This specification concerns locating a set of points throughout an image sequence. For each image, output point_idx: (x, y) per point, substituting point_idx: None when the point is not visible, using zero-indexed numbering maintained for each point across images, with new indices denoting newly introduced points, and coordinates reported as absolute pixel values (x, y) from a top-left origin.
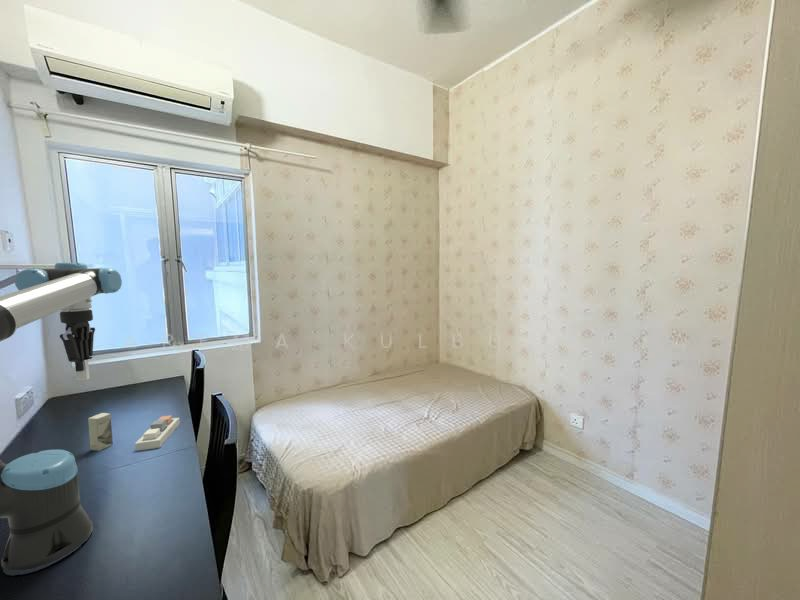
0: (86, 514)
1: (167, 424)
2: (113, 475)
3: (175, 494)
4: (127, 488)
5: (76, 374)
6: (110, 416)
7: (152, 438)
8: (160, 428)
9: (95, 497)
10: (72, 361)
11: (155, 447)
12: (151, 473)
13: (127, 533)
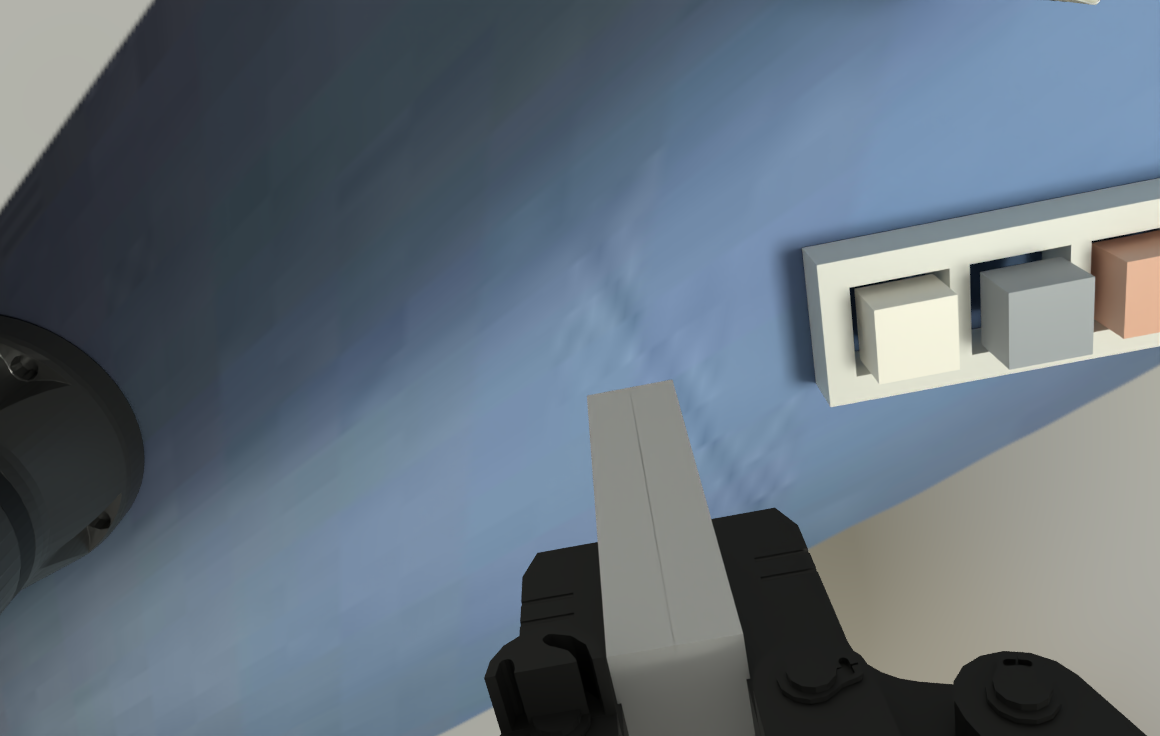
0: (62, 565)
1: (1099, 315)
2: (519, 310)
3: (348, 697)
4: (395, 470)
5: (592, 459)
6: (1079, 2)
7: (864, 349)
8: (991, 342)
9: (324, 364)
10: (505, 699)
11: (814, 361)
12: (522, 504)
13: (116, 658)
